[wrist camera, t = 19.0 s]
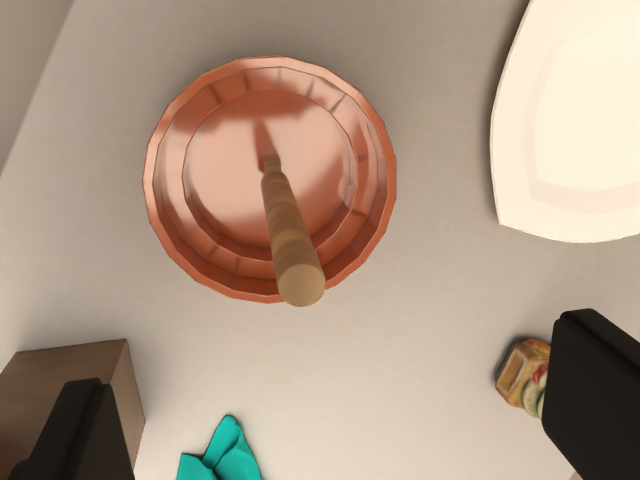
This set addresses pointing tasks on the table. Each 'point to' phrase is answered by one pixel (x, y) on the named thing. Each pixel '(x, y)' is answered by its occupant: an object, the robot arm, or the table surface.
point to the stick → (290, 240)
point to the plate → (570, 122)
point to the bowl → (248, 169)
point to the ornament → (525, 376)
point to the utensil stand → (45, 386)
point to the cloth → (222, 457)
